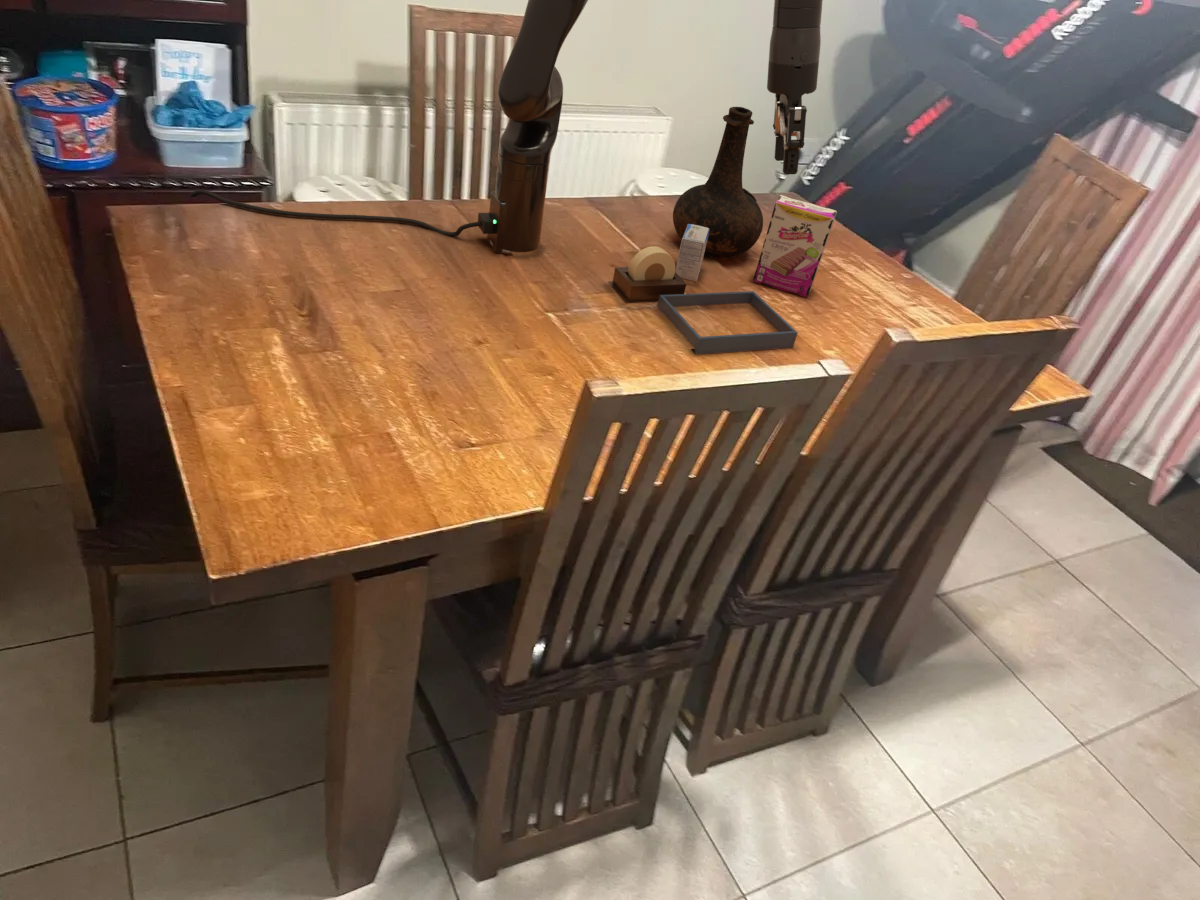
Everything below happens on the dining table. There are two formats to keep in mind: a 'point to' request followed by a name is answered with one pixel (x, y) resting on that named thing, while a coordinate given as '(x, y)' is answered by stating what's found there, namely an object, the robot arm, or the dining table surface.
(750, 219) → the glass bottle
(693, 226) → the medicine box
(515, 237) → the robot arm
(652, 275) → the tape roll
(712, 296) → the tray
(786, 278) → the candy bar box
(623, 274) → the holder
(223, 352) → the dining table surface
